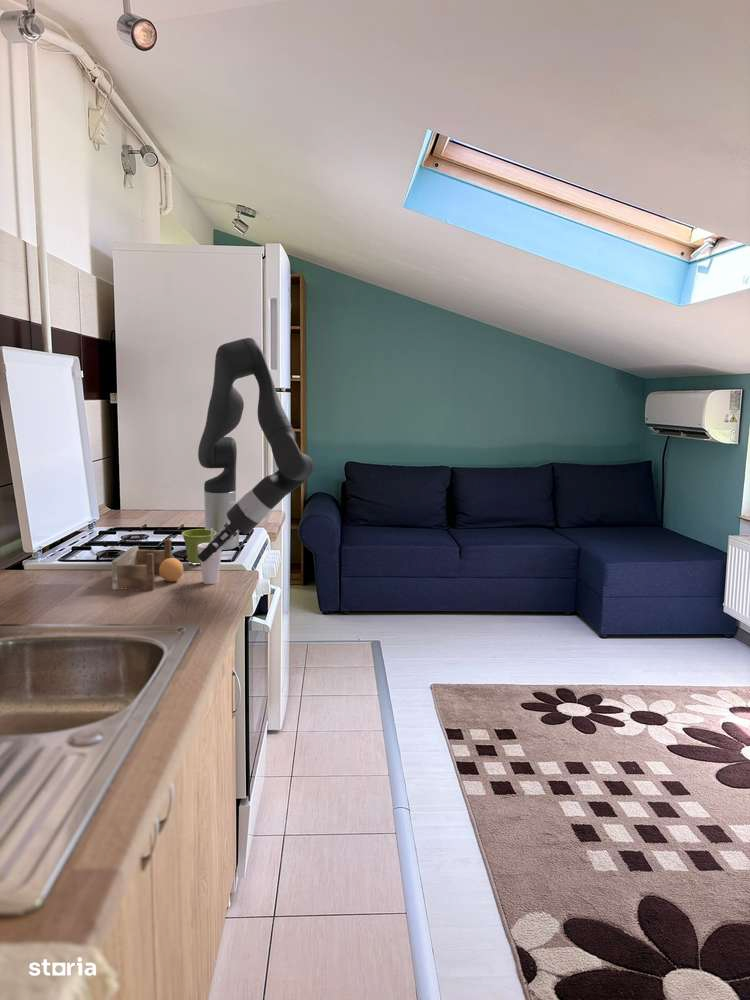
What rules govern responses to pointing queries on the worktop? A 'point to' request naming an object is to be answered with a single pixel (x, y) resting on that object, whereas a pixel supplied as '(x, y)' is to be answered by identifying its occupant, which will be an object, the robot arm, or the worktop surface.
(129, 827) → the worktop surface
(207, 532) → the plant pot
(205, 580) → the smoothie
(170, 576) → the ball
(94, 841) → the worktop surface
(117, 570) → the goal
